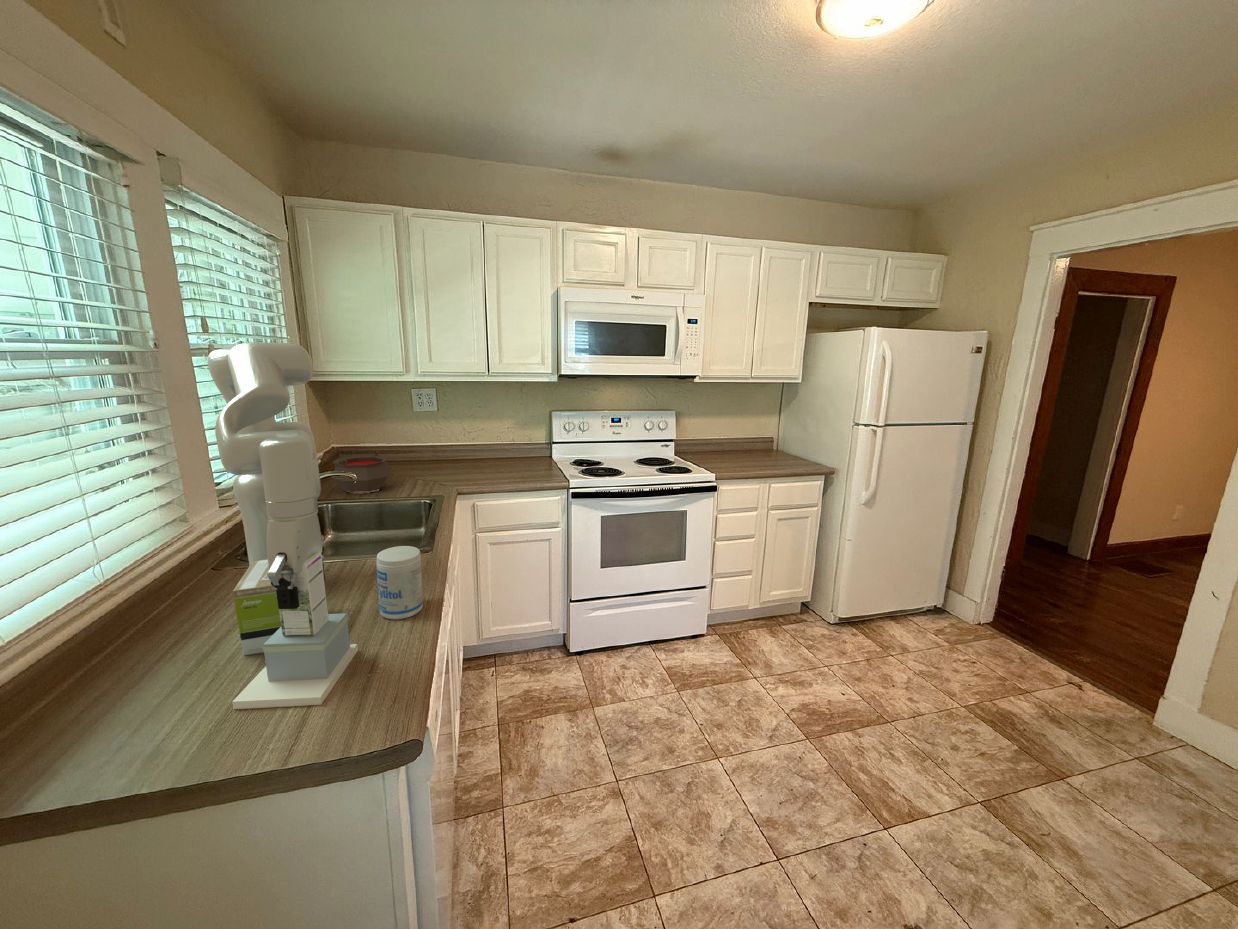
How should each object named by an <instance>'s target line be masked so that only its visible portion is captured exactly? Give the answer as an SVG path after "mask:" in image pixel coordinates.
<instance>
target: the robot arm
mask: <svg viewBox="0 0 1238 929" xmlns="http://www.w3.org/2000/svg"><path fill="white" fill-rule="evenodd" d="M207 366H208V370H209V373H210V376H211V378H212V381H213V382H214V385H215V386H216V388H217V389H218V391H219V392H220V394H221V395H222V397H223V399H224V400H225V402H226V405H225V406H224V407H223V408H222V409H221V411H220V413H218V416H217V418H216V421H215V426H214V428H215V430H214V432H215V433H214V434H215V439H216V446H217V449H218V455H219V459H220V461H221V462H220V463H221V464H222V466H223V468H224V469H225V470H226V471H227V472H228V473H229V474H231V475H235V476H236V477H235V478H234V480H233V483H232V484H233V485H232V487H233V493H234V496H235V500H236V502H237V505H238V508H239V512H240V515H241V520H242V525H243V531H244V537H245V543H246V544H245V545H246V551H247V552H246V553H247V558H248V563H249V566H250V565H251V564H252V562H253V561H260V560H268V567H269V571H268V574H267V576H268V578H269V580H270V581H271V585H272V586H274V589H275V590H276V594H277V601H278V608H279V609H297V608H298V607H299V598H298V589H297V586H295V587H294V585H295V581H296V577H297V574H298V573H300V572H301V571H302V565H303V564H304V563H305V562H306V561H307V560H308V559H309V558H310V557H311V556H312V555H314V554H315V553H317V552H321V557H322V565H323V575H324V583H325V582H326V576H325V566H324V562H325V556H323V554H324V551H325V547H324V544H325V536H324V535H322V532H321V531H322V530H321V526H320V521H319V516H318V513H319V508H318V507H319V506H318V498H319V497H320V495H321V492H322V491H321V490H322V486H321V483H322V482H321V476H320V470H319V468H320V467H319V462H318V455H317V448H316V443H315V442H316V441H315V436H314V434H313V431H312V430H311V428H310V426H309V425H308V424H306V423H304V422H298V421H288V422H287V421H285V422H278V421H277V420H276V417H275V416H277V415H279V414H280V413H282V412H284V410H286V408H287V407H288V406H289V404H290V401H291V400H290V399H291V395H290V393H289V389H288V387H289V386H290V387H291V386H292V387H293V386H301V385H305V384H307V383H308V382H310V381H311V380H312V377H313V373H314V371H313V370H314V369H313V367H314V366H313V361H312V359H311V356H310V354H309V352H308V351H307V350H306V348H304V347H303V346H302V345H299V344H297V343H289V342H287V343H285V342H267V341H266V342H263V341H261V342H260V341H259V342H257V341H248V342H242V343H239V344H236V345H234V346H233V347H226V348H218V349H214V350H212V351H211V352H210V353H209V354H208V355H207ZM287 386H288V387H287ZM249 566H248V567H249ZM284 567H290V568H293V570H284ZM283 575H290V578H289V581H287V580H286V579H285V578H283Z"/></svg>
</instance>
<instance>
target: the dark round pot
mask: <svg viewBox="0 0 1238 929" xmlns="http://www.w3.org/2000/svg"><path fill="white" fill-rule="evenodd" d="M379 454H380V451H378V449H374V451H373V454H371V455H370V454H368V455H367V454H361V455H360V454H358V455H351V456H350V455H349V456H345V457H341V458H340V457H339V458H337V459H336V460H334V461H332V464H333V465H334V469H333V472H334V471H344V472H352V473H355V474H356V475H357V481H356V483H354V482H353V480H352V479H351V478H350V477H348V476H344V475H340V476H332V475H331V477H330V478H331V480H332V481H333V482H335V483H336V485H338V487H339V488H340V489H341V490H342V491H343V492H345V491H350V492H354V491H372V490H377V489H380V488H381V487H382V488H383V487H384V485H385V483H386V482H387V480H388V479H389V477H390V476H391V474H392V472H393V470H392V469H391V467H390V466H389V463H388V462H387V460H388V459H389V457H388V456H385V455H384V456H382V455H379ZM382 488H381V489H382ZM381 489H380V490H381Z"/></svg>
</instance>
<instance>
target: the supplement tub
mask: <svg viewBox="0 0 1238 929" xmlns="http://www.w3.org/2000/svg"><path fill="white" fill-rule="evenodd" d="M375 565H376V577H377V578H376V579H377V580H376V581H377V596H378V597H377V598H378V609H379V614H380V616H382V617H383V618H385V619H389V620H401V619H407V618H411V617H412V616H415V615H417V614H418V613H419V612H420V611H421V610H422V609H423V606H424V598H423V597H424V595H423V574H422V573H423V572H422V555H421V550H420V549H419V548H418V547H415V546H411V545H398V546H393V547H388V548H386V549H383V550H381V551H380V552H378V553H377V555H376V564H375Z"/></svg>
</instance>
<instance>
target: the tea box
mask: <svg viewBox="0 0 1238 929" xmlns="http://www.w3.org/2000/svg"><path fill="white" fill-rule="evenodd" d="M268 571H269V567H268V560H260V561H253V562H252V564H251V565H250V566H248V568H247V569H246V570H245V572H244V574H243V575H242V577H241V578H240V579H239V581H238V583H236V585H235V587H234V589H233V590H232V599H233V604H234V610H235V616H236V622H237V626H238V627H237V628H238V633H239V638H240V644H241V650H242V654H243V656H251V655H256V654H264V652H263V648H262V647H263V644H264V643H265V642H266V641H267V640H268V639H269V638H270V637H271V636H272V635H273V634H274V633H275V632H276V631H277V630H278V629H279V628H280V627H281V620H280V613H279V608H278V601H277V594H276V590H275V589H274V586H272V585H271V581H270V580H269V578H268V576H267V574H268Z"/></svg>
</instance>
